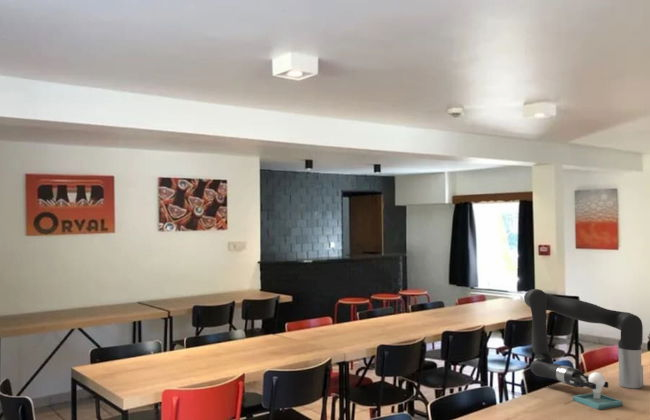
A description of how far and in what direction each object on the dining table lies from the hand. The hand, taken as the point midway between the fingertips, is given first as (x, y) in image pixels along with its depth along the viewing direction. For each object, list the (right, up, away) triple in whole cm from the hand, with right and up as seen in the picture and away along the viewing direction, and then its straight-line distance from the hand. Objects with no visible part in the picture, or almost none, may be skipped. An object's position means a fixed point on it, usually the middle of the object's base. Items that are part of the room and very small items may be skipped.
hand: (601, 386), depth 231 cm
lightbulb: (-1, -6, +2) cm, 7 cm away
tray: (-1, -8, +2) cm, 8 cm away
